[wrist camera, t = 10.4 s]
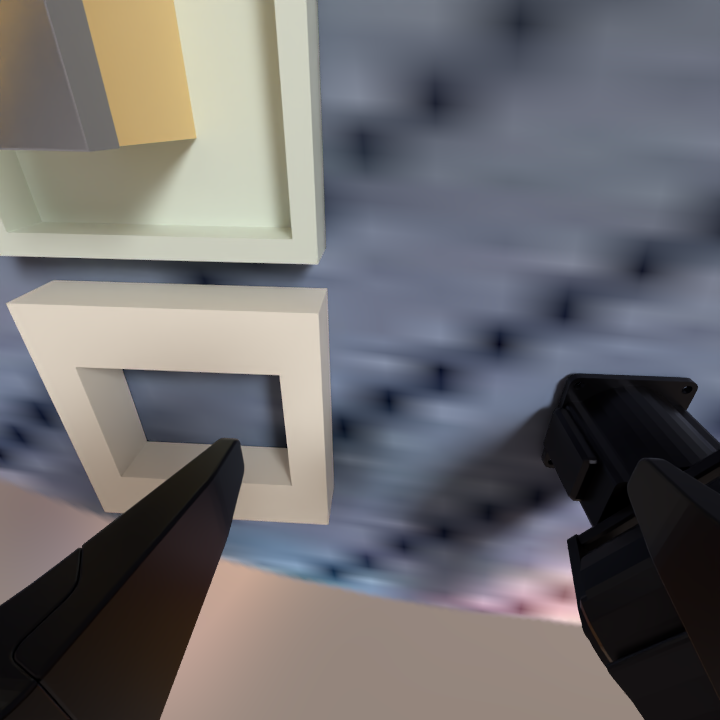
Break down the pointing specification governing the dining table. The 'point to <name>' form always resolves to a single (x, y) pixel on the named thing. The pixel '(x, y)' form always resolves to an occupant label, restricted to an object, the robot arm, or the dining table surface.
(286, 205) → the parts tray
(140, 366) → the white square frame
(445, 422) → the dining table surface
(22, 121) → the block
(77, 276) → the dining table surface
